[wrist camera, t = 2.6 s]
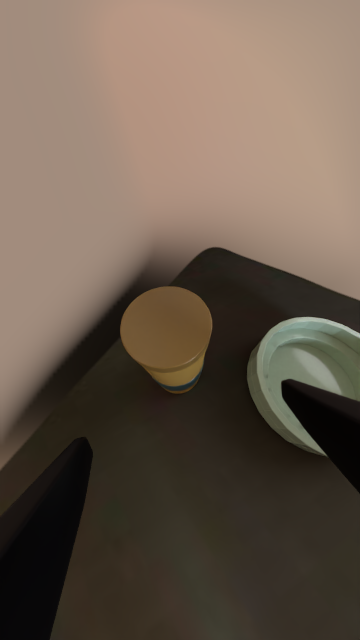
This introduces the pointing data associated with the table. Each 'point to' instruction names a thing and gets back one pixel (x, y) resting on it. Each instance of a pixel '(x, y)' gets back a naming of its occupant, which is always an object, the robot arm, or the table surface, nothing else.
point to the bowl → (302, 370)
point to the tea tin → (168, 336)
